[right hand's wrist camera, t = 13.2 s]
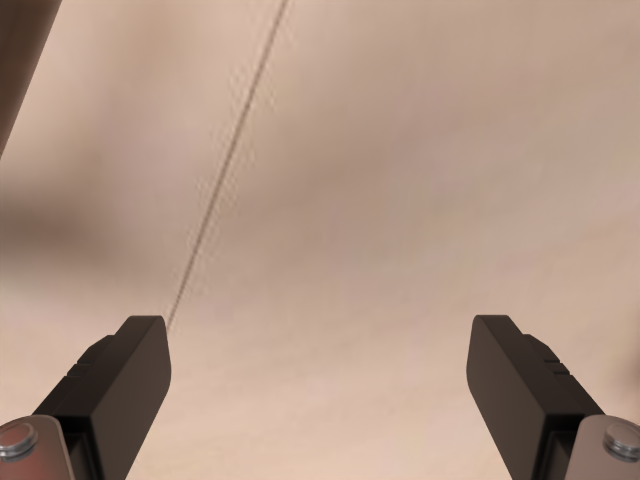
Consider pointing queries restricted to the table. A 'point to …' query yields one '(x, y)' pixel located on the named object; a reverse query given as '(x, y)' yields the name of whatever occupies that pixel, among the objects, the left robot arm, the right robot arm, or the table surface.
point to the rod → (20, 53)
